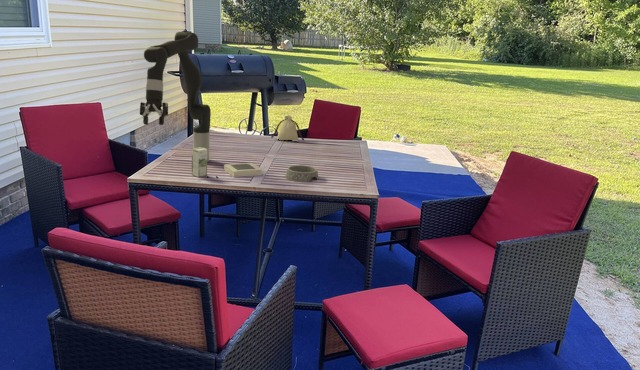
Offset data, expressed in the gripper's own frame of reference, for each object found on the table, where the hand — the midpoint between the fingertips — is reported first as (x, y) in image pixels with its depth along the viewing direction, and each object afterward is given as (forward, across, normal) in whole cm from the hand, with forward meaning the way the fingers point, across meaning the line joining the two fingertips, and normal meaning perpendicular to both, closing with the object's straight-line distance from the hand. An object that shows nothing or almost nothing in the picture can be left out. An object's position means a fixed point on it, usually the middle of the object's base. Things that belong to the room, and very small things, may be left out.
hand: (153, 124), depth 231 cm
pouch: (-1, -8, -144) cm, 145 cm away
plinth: (+21, -23, -48) cm, 57 cm away
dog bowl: (+23, -55, -56) cm, 81 cm away
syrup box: (+24, -7, -30) cm, 39 cm away
